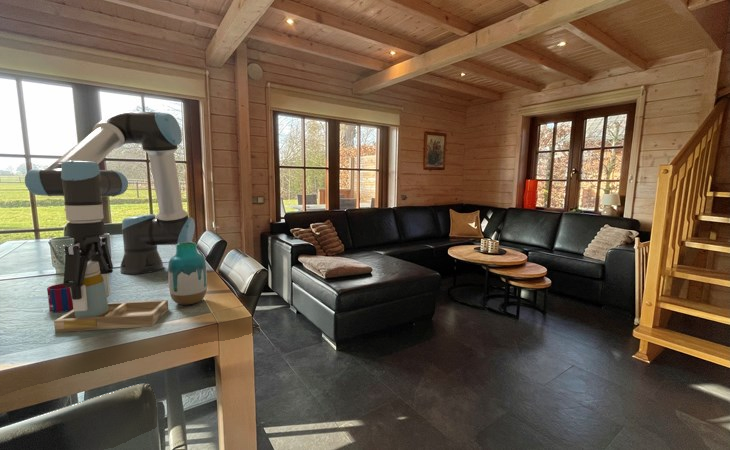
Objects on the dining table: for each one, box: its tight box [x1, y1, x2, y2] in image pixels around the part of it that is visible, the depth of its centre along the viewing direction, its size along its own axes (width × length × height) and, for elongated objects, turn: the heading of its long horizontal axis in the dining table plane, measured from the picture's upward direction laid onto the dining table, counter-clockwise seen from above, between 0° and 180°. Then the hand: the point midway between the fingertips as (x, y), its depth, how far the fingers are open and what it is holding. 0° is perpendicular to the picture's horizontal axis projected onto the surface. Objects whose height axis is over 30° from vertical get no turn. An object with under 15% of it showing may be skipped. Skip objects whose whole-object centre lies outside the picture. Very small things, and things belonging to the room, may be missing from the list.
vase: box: [167, 241, 208, 306], centre depth 103 cm, size 11×11×19 cm
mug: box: [46, 282, 73, 313], centre depth 100 cm, size 7×10×7 cm
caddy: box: [53, 299, 169, 333], centre depth 91 cm, size 12×22×3 cm, turn 102°
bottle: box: [70, 260, 109, 318], centre depth 88 cm, size 7×7×15 cm
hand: (93, 303), depth 89 cm, fingers open, 10 cm apart
